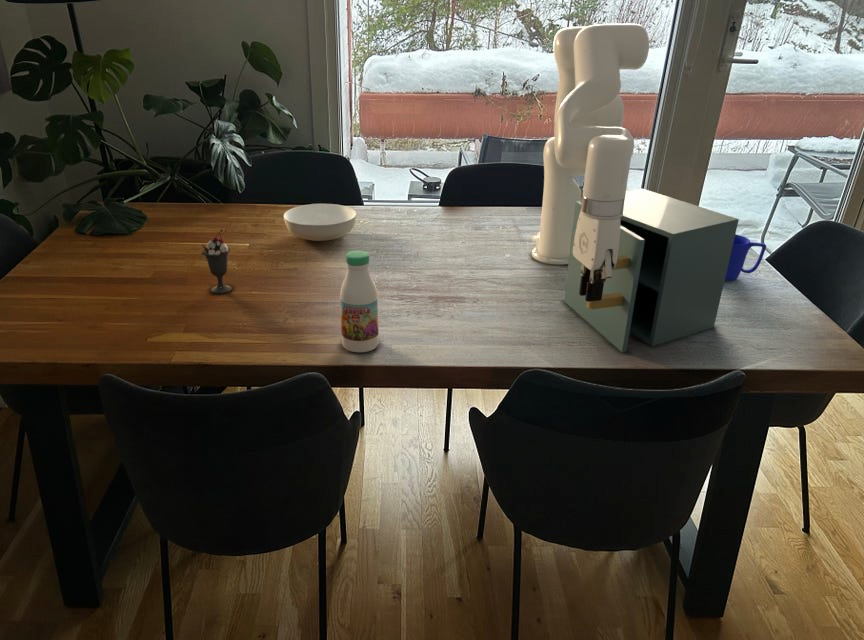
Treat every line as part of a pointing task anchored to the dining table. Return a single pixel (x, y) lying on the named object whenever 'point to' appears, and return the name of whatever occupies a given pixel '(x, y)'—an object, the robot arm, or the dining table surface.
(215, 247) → the sundae
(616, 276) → the cabinet door
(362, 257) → the milk bottle
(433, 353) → the dining table surface
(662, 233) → the cabinet
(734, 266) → the mug
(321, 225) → the serving bowl
